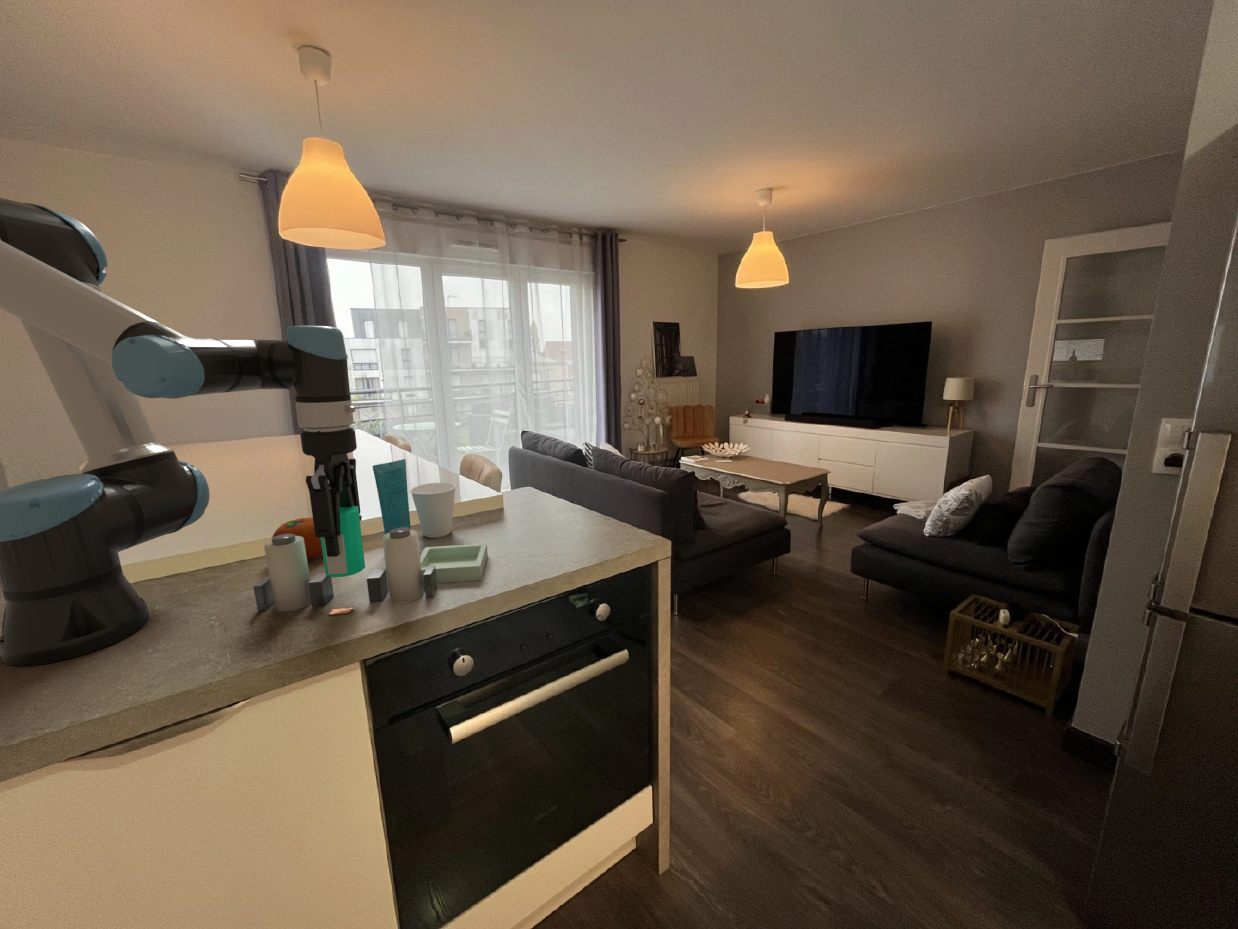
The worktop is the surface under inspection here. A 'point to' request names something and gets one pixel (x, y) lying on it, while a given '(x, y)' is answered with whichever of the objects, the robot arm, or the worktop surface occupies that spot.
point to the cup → (434, 507)
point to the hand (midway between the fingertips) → (344, 565)
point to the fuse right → (403, 565)
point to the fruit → (303, 535)
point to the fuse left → (288, 572)
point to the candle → (349, 542)
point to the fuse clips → (324, 593)
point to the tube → (393, 494)
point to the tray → (455, 562)
